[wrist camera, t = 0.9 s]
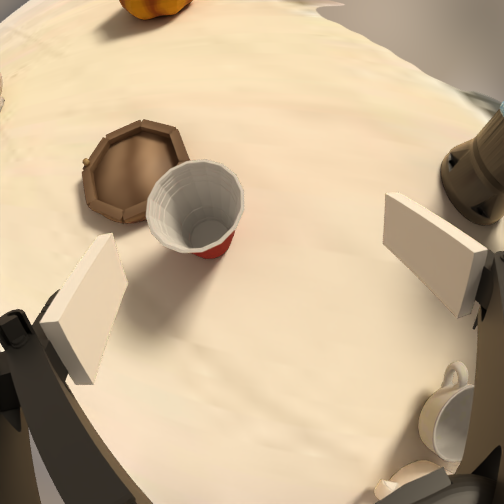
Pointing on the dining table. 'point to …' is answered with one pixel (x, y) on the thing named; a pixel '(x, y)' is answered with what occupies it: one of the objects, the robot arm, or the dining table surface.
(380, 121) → the dining table surface
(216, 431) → the dining table surface
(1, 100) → the ceramic pitcher
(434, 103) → the dining table surface
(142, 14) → the decorative pumpkin
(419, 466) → the mug
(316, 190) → the dining table surface
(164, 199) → the plastic cup
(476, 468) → the robot arm
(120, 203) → the octagonal wooden tray
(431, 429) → the teacup
